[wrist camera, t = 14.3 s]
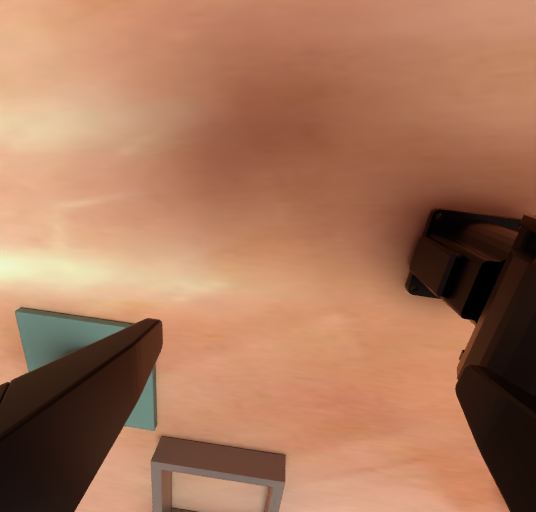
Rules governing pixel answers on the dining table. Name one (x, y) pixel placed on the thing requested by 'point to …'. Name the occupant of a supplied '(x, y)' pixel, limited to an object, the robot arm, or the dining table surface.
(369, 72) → the dining table surface
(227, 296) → the dining table surface
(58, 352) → the rubber pad
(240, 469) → the open lid tray
